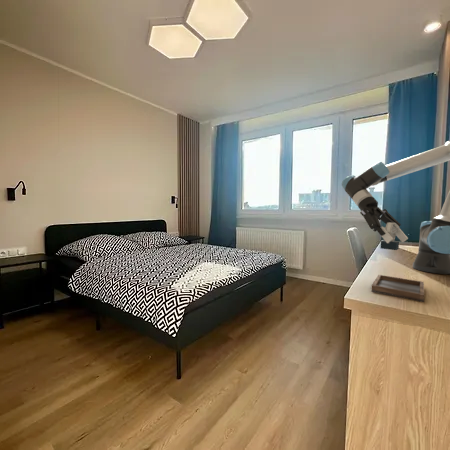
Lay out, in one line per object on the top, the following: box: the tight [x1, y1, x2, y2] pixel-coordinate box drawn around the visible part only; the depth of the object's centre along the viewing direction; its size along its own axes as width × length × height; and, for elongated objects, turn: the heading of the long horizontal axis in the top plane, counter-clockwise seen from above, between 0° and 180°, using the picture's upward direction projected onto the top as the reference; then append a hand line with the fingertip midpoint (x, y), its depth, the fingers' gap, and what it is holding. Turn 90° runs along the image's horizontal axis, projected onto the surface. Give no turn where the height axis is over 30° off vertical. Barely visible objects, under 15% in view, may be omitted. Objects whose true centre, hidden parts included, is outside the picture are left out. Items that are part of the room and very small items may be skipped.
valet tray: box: [370, 274, 425, 303], centre depth 86 cm, size 18×14×2 cm
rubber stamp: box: [380, 222, 400, 251], centre depth 102 cm, size 6×8×11 cm
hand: (397, 240), depth 99 cm, fingers closed on rubber stamp, 8 cm apart
